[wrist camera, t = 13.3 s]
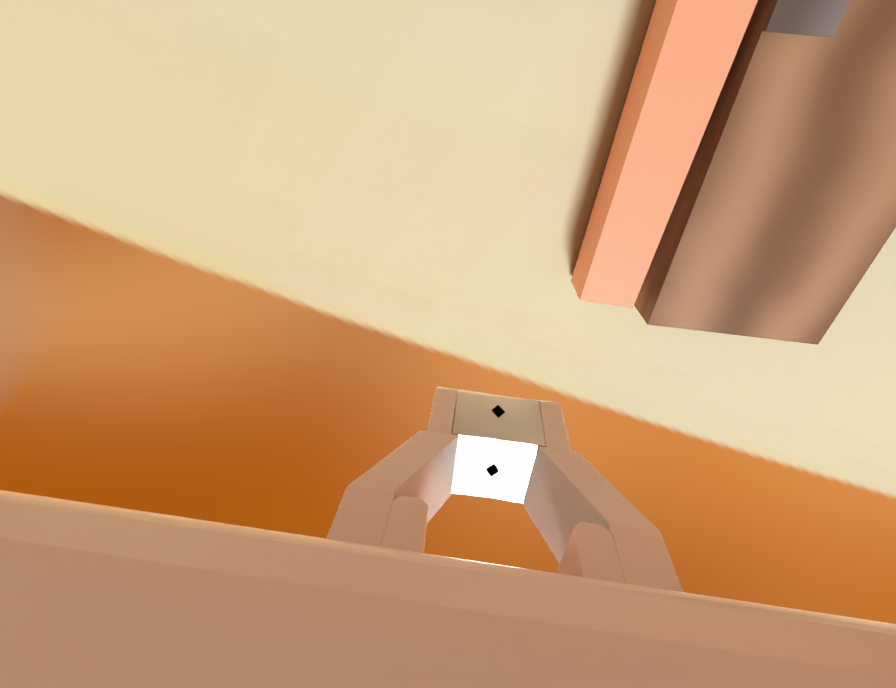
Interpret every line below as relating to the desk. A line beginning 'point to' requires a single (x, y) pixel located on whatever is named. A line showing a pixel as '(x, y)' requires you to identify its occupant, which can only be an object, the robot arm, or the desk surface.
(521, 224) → the desk surface
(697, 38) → the stool leg
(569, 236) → the desk surface
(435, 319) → the desk surface
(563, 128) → the desk surface
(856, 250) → the seat block
